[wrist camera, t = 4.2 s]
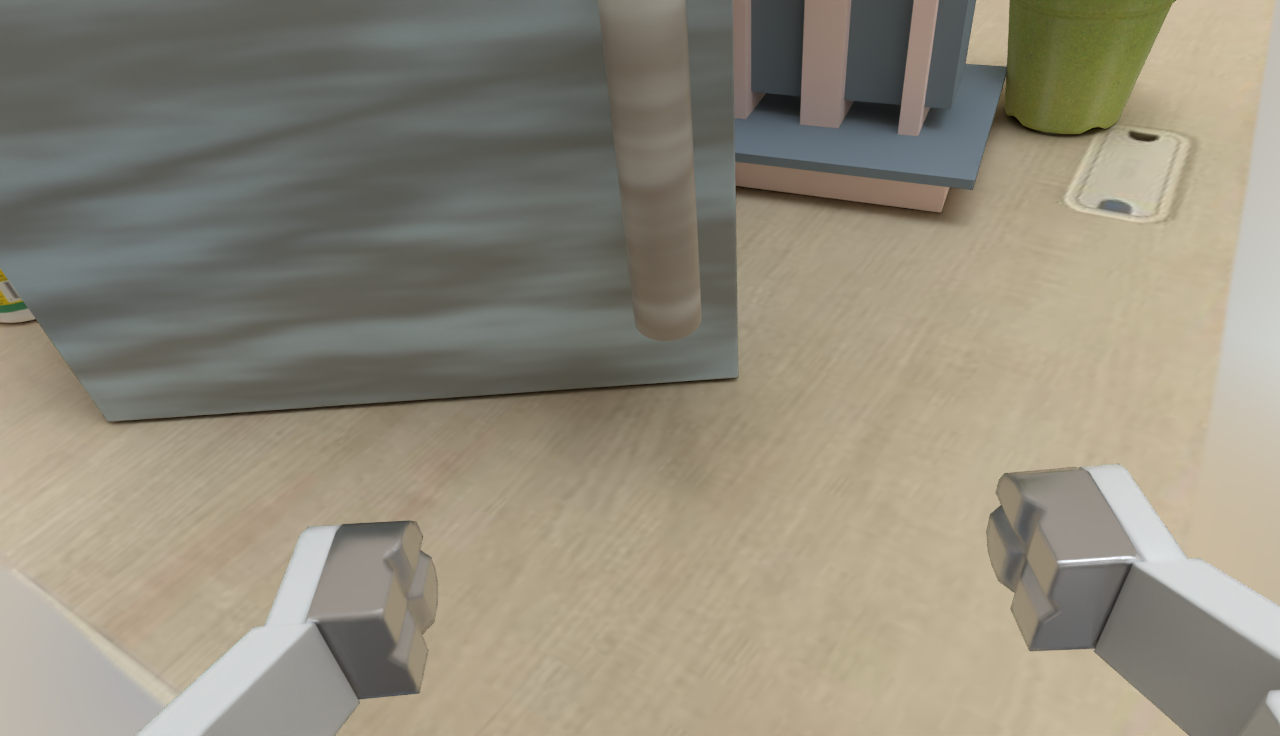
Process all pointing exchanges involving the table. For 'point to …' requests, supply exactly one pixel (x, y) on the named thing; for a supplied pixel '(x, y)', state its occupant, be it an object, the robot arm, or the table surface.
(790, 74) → the desk lamp
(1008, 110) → the plant pot
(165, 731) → the robot arm
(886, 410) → the table surface
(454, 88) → the cupboard door
